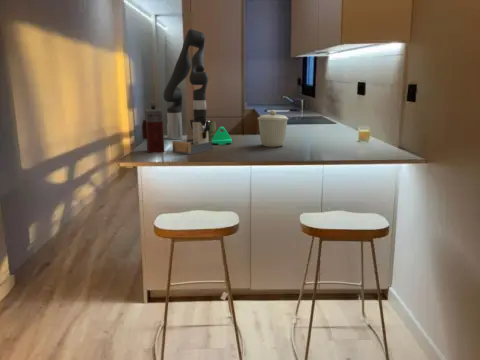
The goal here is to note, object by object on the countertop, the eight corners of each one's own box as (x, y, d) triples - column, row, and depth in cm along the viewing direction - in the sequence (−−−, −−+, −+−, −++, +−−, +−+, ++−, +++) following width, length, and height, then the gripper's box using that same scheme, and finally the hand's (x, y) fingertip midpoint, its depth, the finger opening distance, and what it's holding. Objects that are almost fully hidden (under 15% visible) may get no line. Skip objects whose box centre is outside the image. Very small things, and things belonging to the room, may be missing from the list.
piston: (200, 122, 286) (196, 121, 296) (201, 141, 289) (196, 139, 299) (217, 122, 289) (213, 120, 300) (218, 140, 292) (213, 138, 303)
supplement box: (202, 143, 267) (202, 121, 264) (208, 144, 264) (208, 121, 261) (192, 145, 261) (192, 122, 258) (198, 146, 258) (198, 123, 255)
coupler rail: (172, 152, 254) (172, 141, 253) (197, 147, 269) (196, 137, 268) (188, 154, 247) (188, 143, 245) (212, 149, 262) (212, 138, 261)
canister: (251, 146, 271) (251, 110, 266) (270, 142, 284) (270, 108, 279) (275, 149, 259) (275, 112, 254) (294, 145, 272) (294, 109, 267)
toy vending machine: (143, 150, 261) (139, 100, 254) (162, 149, 263) (160, 100, 257) (143, 153, 252) (140, 101, 246) (164, 152, 255) (161, 101, 248)
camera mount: (212, 145, 277) (211, 128, 275) (212, 143, 285) (211, 126, 282) (232, 144, 278) (231, 127, 275) (231, 142, 285) (231, 126, 283)
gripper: (186, 108, 259) (187, 138, 263) (205, 109, 251) (205, 140, 255) (194, 107, 265) (195, 136, 269) (213, 108, 257) (214, 138, 261)
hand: (200, 138), depth 262 cm, fingers closed on supplement box, 5 cm apart
